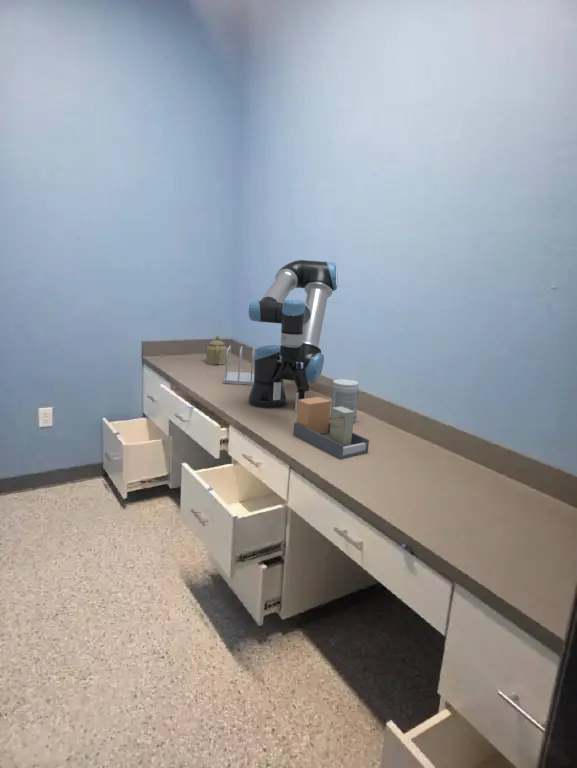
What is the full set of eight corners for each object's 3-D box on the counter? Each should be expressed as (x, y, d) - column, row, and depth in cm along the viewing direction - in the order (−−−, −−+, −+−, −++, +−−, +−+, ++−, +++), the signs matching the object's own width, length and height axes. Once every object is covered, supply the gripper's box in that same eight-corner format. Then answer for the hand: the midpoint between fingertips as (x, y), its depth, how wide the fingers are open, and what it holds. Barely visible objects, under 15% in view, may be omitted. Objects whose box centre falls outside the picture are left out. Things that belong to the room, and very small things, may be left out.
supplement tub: (361, 422, 194) (364, 383, 190) (341, 425, 189) (344, 386, 185) (344, 415, 202) (347, 377, 198) (324, 418, 197) (327, 379, 193)
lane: (293, 434, 176) (294, 422, 175) (319, 430, 182) (320, 418, 181) (340, 459, 157) (342, 445, 156) (367, 452, 164) (369, 439, 163)
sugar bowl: (234, 365, 277) (235, 337, 274) (215, 367, 271) (216, 338, 267) (221, 360, 289) (221, 333, 285) (202, 361, 283) (203, 334, 279)
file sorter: (223, 384, 238) (224, 350, 235) (227, 375, 255) (228, 343, 251) (278, 387, 239) (280, 353, 235) (278, 378, 256) (280, 346, 252)
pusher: (295, 431, 176) (297, 399, 174) (317, 427, 182) (319, 396, 179) (306, 436, 172) (309, 404, 169) (328, 432, 177) (330, 401, 174)
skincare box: (327, 444, 167) (330, 407, 164) (338, 441, 169) (341, 405, 167) (341, 450, 162) (344, 412, 159) (351, 448, 165) (355, 410, 162)
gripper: (262, 340, 189) (259, 397, 194) (304, 352, 170) (300, 415, 175) (279, 339, 193) (276, 395, 198) (322, 351, 174) (317, 412, 179)
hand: (287, 404), depth 187 cm, fingers open, 13 cm apart
